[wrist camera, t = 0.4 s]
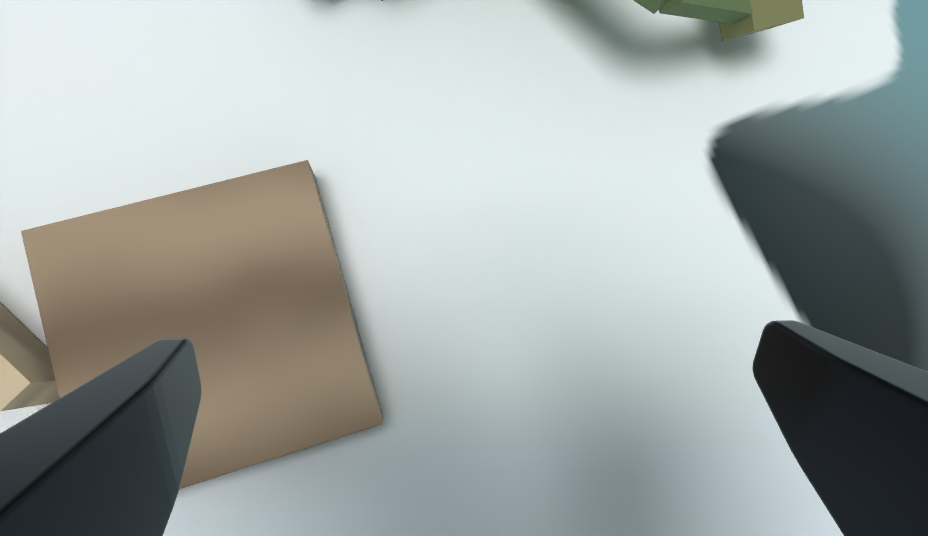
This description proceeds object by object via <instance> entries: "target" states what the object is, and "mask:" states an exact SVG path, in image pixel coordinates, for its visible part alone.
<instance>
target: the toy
mask: <svg viewBox="0 0 928 536" xmlns="http://www.w3.org/2000/svg"><path fill="white" fill-rule="evenodd" d="M382 1H383V0H382ZM634 1H635V2H637V3H638V4H640V5H641V6H643V7H644V8H646V9H647V10H649V11H650V12H652V13H653V14H654V13H656V12H657V11H658V10H659V13H662V14H669V15H676V16H683V17H690V18H697V19H704V20H711V21H718V22H719V25H720V31H721V38H722V41H724V40H727V39H731V38H735V37H739V36H743V35H747V34H751V33H755V32H758V31H762V30H766V29H770V28H773V27H776V26H780V25H783V24H786V23H789V22H793V21H796V20H799V19H802V18H804V14H803V6H802V0H634Z"/></svg>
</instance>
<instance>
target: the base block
mask: <svg viewBox="0 0 928 536" xmlns="http://www.w3.org/2000/svg"><path fill="white" fill-rule="evenodd" d="M21 233H22V237H23V242H24V246H25V250H26V255H27V259H28V263H29V268H30V272H31V276H32V281H33V285H34V289H35V294H36V298H37V302H38V307H39V311H40V316H41V320H42V324H43V329H44V333H45V337H46V342H47V346H48V350H49V355H50V359H51V363H52V368H53V372H54V376H55V381H56V385H57V389H58V394H59V398H61V397H63V396H65V395H66V394H68V393H70V392H71V391H73V390H75V389H76V388H78V387H80V386H81V385H83V384H85V383H87V382H88V381H90V380H92V379H93V378H95V377H97V376H98V375H100V374H102V373H103V372H105V371H107V370H108V369H110V368H112V367H114V366H115V365H117V364H119V363H120V362H122V361H124V360H125V359H127V358H129V357H130V356H132V355H134V354H135V353H137V352H139V351H141V350H142V349H144V348H146V347H147V346H149V345H151V344H152V343H154V342H156V341H157V340H160V339H172V338H187V339H189V340H190V341H191V342H192V344H193V346H194V351H195V356H196V361H197V366H198V371H199V376H200V381H201V400H200V405H199V409H198V413H197V417H196V421H195V426H194V430H193V434H192V438H191V442H190V447H189V451H188V455H187V459H186V464H185V468H184V472H183V476H182V480H181V484H180V487H179V489H181V488H184V487H187V486H190V485H193V484H196V483H199V482H203V481H206V480H209V479H212V478H215V477H218V476H221V475H224V474H227V473H231V472H234V471H237V470H240V469H243V468H246V467H249V466H252V465H256V464H259V463H262V462H265V461H268V460H271V459H274V458H277V457H280V456H284V455H287V454H290V453H293V452H296V451H299V450H302V449H305V448H309V447H312V446H315V445H318V444H321V443H324V442H327V441H330V440H333V439H337V438H340V437H343V436H346V435H349V434H352V433H355V432H358V431H362V430H365V429H368V428H371V427H374V426H377V425H380V424H382V420H383V416H382V413H381V409H380V406H379V402H378V399H377V395H376V392H375V388H374V385H373V381H372V377H371V374H370V370H369V367H368V363H367V360H366V356H365V353H364V349H363V345H362V342H361V338H360V335H359V331H358V328H357V324H356V321H355V317H354V314H353V310H352V306H351V303H350V299H349V296H348V292H347V289H346V285H345V282H344V278H343V274H342V271H341V267H340V264H339V260H338V257H337V253H336V250H335V246H334V243H333V239H332V235H331V232H330V228H329V225H328V221H327V218H326V214H325V211H324V207H323V203H322V200H321V196H320V193H319V189H318V186H317V182H316V179H315V175H314V173H313V171H312V169H311V166H310V164H309V162H308V160H306V161H302V162H298V163H294V164H290V165H286V166H282V167H278V168H274V169H270V170H266V171H262V172H258V173H254V174H250V175H245V176H241V177H237V178H233V179H229V180H225V181H221V182H217V183H213V184H209V185H205V186H201V187H197V188H193V189H189V190H185V191H181V192H177V193H173V194H169V195H165V196H161V197H157V198H153V199H149V200H145V201H141V202H137V203H133V204H129V205H125V206H121V207H116V208H112V209H108V210H104V211H100V212H96V213H92V214H88V215H84V216H80V217H76V218H72V219H68V220H64V221H60V222H56V223H52V224H48V225H44V226H40V227H36V228H32V229H28V230H24V231H21Z"/></svg>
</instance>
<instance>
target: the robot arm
mask: <svg viewBox="0 0 928 536" xmlns="http://www.w3.org/2000/svg"><path fill="white" fill-rule="evenodd" d="M753 373H754V377H755V380H756V382H757V384H758V386H759V388H760V390H761V392H762V394H763V396H764V398H765V400H766V402H767V404H768V406H769V408H770V410H771V412H772V414H773V416H774V418H775V420H776V422H777V424H778V426H779V428H780V430H781V432H782V434H783V436H784V438H785V439H786V441H787V443H788V445H789V447H790V449H791V451H792V453H793V455H794V457H795V458H796V460H797V462H798V463H799V465H800V467H801V468H802V470H803V472H804V473H805V475H806V476H807V478H808V479H809V481H810V483H811V484H812V486H813V487H814V489H815V491H816V492H817V494H818V495H819V497H820V498H821V500H822V502H823V503H824V505H825V506H826V508H827V510H828V511H829V513H830V514H831V516H832V517H833V519H834V521H835V522H836V524H837V525H838V527H839V528H840V530H841V532H842V533H843V535H844V536H928V372H927V371H924V370H922V369H919V368H916V367H914V366H911V365H909V364H906V363H903V362H901V361H898V360H896V359H893V358H890V357H888V356H885V355H883V354H880V353H877V352H874V351H872V350H870V349H867V348H864V347H862V346H859V345H856V344H854V343H852V342H849V341H846V340H844V339H841V338H839V337H836V336H833V335H831V334H828V333H826V332H823V331H820V330H818V329H815V328H813V327H810V326H807V325H805V324H802V323H800V322H797V321H791V320H788V321H771V322H769V323H768V324H767V325H766V326H765V327H764V329H763V332H762V335H761V338H760V342H759V345H758V348H757V351H756V355H755V358H754V361H753ZM200 400H201V381H200V376H199V371H198V366H197V361H196V356H195V351H194V346H193V344H192V342H191V341H190V340H189V339H187V338H172V339H160V340H157V341H156V342H154V343H152V344H151V345H149V346H147V347H146V348H144V349H142V350H141V351H139V352H137V353H135V354H134V355H132V356H130V357H129V358H127V359H125V360H124V361H122V362H120V363H119V364H117V365H115V366H114V367H112V368H110V369H108V370H107V371H105V372H103V373H102V374H100V375H98V376H97V377H95V378H93V379H92V380H90V381H88V382H87V383H85V384H83V385H81V386H80V387H78V388H76V389H75V390H73V391H71V392H70V393H68V394H66V395H65V396H63V397H61V398H59V399H58V400H56V401H54V402H53V403H51V404H49V405H48V406H46V407H44V408H43V409H41V410H39V411H38V412H36V413H34V414H32V415H31V416H29V417H27V418H26V419H24V420H22V421H21V422H19V423H17V424H16V425H14V426H12V427H11V428H9V429H7V430H5V431H4V432H2V433H0V536H163V533H164V530H165V528H166V525H167V522H168V520H169V517H170V514H171V512H172V509H173V506H174V503H175V500H176V497H177V494H178V491H179V487H180V484H181V480H182V476H183V472H184V468H185V464H186V459H187V455H188V451H189V447H190V442H191V438H192V434H193V430H194V426H195V421H196V417H197V413H198V409H199V405H200Z"/></svg>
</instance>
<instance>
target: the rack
mask: <svg viewBox="0 0 928 536" xmlns="http://www.w3.org/2000/svg"><path fill="white" fill-rule="evenodd" d="M58 398H59V394H58V389H57V385H56V381H55V376H54V372H53V368H52V363H51V359H50V355H49V350H48V348H47V347H46V346H45V345H44V344H43V343H42V342H41V341H40V340H39V339H38V338H37V337H36V336H35V335H34V334H33V333H32V332H30V331H29V330H28V329H27V328H26V327H25V326H24V325H23V324H22V323H21V322H20V321H19V320H18V319H17V318H16V317H15V316H14V315H13V314H12V313H11V312H10V311H9V310H8V309H6V308H5V307H4V306H3V305H2V304H1V303H0V411H4V410H11V409H17V408H23V407H29V406H36V405H42V404H48V403H53V402H54V401H56V400H57V399H58Z"/></svg>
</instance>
